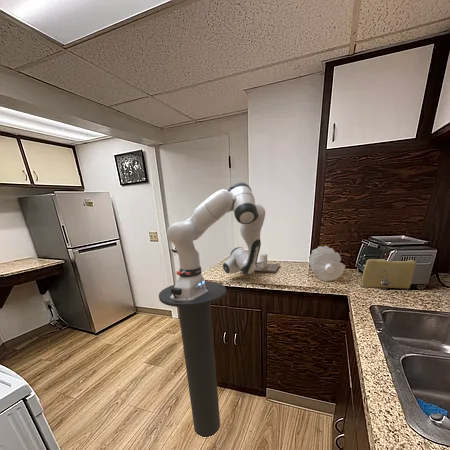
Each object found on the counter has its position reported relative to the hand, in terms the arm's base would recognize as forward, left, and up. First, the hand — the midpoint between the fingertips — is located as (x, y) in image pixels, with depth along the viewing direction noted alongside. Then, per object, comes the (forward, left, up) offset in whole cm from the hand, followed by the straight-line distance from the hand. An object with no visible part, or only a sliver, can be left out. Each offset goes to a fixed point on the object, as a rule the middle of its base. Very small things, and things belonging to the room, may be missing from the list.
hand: (257, 259), depth 173 cm
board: (+6, -3, -8) cm, 10 cm away
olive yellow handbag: (-19, -74, -8) cm, 77 cm away
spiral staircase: (-6, -44, -8) cm, 45 cm away
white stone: (+6, -3, -6) cm, 9 cm away
